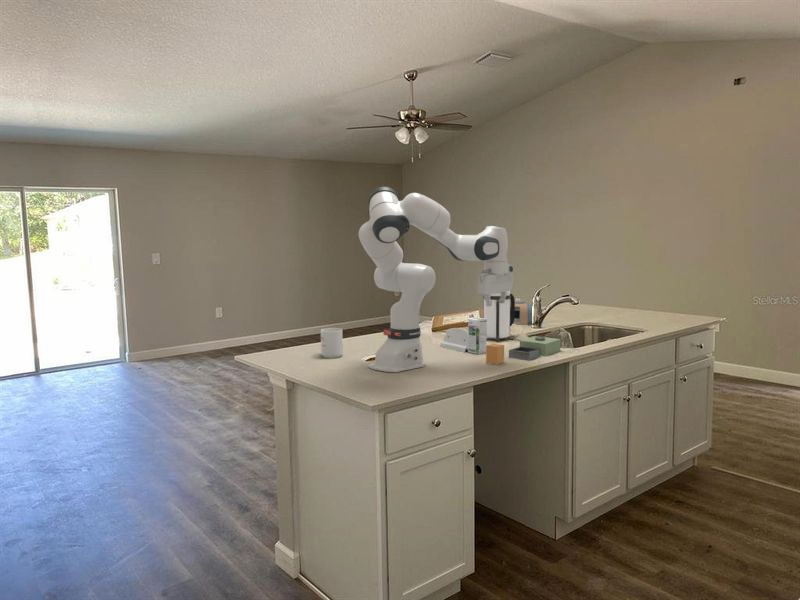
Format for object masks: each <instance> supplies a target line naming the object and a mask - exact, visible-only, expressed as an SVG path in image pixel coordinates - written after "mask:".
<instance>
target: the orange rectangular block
mask: <svg viewBox="0 0 800 600" xmlns="http://www.w3.org/2000/svg"><path fill="white" fill-rule="evenodd" d="M485 354H486V355H485V356H486V357H485V363H486V364H488V363H491V364H490V365H494V364H499V365H501V364H500V363H502V364H504V363H505V344H500V343H495V342H494V343H490V344H487V345H486V352H485Z"/></svg>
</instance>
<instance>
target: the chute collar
mask: <svg viewBox="0 0 800 600" xmlns="http://www.w3.org/2000/svg"><path fill="white" fill-rule="evenodd" d="M540 352H541V349H535V348H528V347H521V346H520V345H519V346H517V347H515V348H511V349H508V358H511V359H517V360H524V361H533V360H534V359H537V358H540V357H541V355H540Z"/></svg>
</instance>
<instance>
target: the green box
mask: <svg viewBox="0 0 800 600" xmlns="http://www.w3.org/2000/svg"><path fill="white" fill-rule="evenodd" d="M520 346H521V347H528V348H535V349H541V352H540V357H541V356H542V357H547V356H550V355H553V354H555V353H558V352H560V351H561V338H553V337H547V336H536V335H533V336H529V337H526V338H524V339H521V340H519V347H520Z"/></svg>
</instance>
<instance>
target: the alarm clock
mask: <svg viewBox="0 0 800 600" xmlns="http://www.w3.org/2000/svg"><path fill="white" fill-rule="evenodd" d="M532 306H533V303H527V302H526V301H525V300H515V318H514V322H513V324H516V325H528V326H530V324H532ZM510 319H511V302H510ZM532 325H533V324H532Z"/></svg>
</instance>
